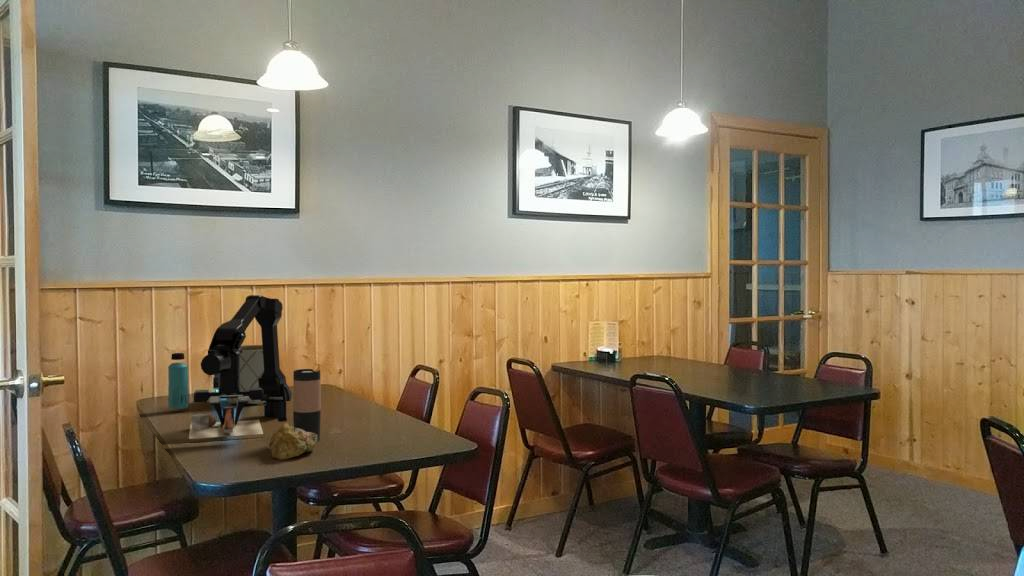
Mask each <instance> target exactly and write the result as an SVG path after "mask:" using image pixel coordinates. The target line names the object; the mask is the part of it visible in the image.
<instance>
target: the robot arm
mask: <svg viewBox="0 0 1024 576" xmlns="http://www.w3.org/2000/svg"><path fill="white" fill-rule="evenodd" d="M282 316H283V303H282V302H281V301H280V299H278V298H270V297H266V296H263V295H260V294H259V295H257V294H253V295H252V294H251V295H247V296H246V298H245V301H244V302H243V304H242V305H241V306H240V308H239V309H238V310H237V311H236V312H235V314H234V315H233V317H232V318H231V319H230V320H228V321H226V322H223V323H222V324H220V325H219V326H218V327H217V328H216V330H215V332H214V333H213V336H212V339H211V342H210V345H209V347H208V350H207V355H205V356H204V357H203V358H202V360H201V361H200V369H201V370H202V372H203V373H204V374H206V375H208V376H213V377H212V380H213V381H212V384H213V387H212V389H214V390H215V389H217V391H215V392H213V391H212V392H210V389H196V390H195V391H194V392H193V404H194V403H196V404H197V403H201V404H202V403H207V401H209V402H208V403H209V405H210V406H213V407H214V410H215V411H216V413H217V416H218V419H219V422H221V425H222V426H223V408H222V402H221V400H222V399H226V398H238V399H237V404H236V407H235V408H236V409H235V413H234V421H235V425H236V424H237V422H238V421H239V420H240V419H239V418H240V415H241V413H242V410H243V408H244V406H245V404H246V403H249V401H248V399H249V397H250V398H251V399H252V400H261V401H266V402H265V404H263V417H264V418H276V420H277V421H288V418H287V402H291V400H292V398H293V393H292V391H291V389H290V387H289V385H288V383H287V379H286V378H287V377H286V375H285V374H284V372H283V371H282V369H281V368H280V367H281V366H280V353H279V351H280V350H279V335H278V324H279V322H280V321H281V319H282ZM254 319H255V321H256V322H257V323H258V325H259V326H260V331H261V343H262V344H261V345H262V348H263V363H264V372H263V374H262V376H261V377H260V378H259V380H258V382H259V388H249V391H240V354H241V353H243V351H242V350H241V349H240V346H242V345H243V343H244V341H245V339H246V337H247V335H246V330H247V328H248V327H249V326H250V324H251V323H252V321H253V320H254ZM215 375H218V376H215ZM246 405H247V404H246Z"/></svg>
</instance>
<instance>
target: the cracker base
mask: <svg viewBox="0 0 1024 576" xmlns="http://www.w3.org/2000/svg"><path fill="white" fill-rule="evenodd" d="M209 415H210V414H203V413H197V414H191V423H190V426H189V433H188V435H189V436H188V439H189V440H196V439H210V438H224V437H239V436H240V437H241V436H254V435H264V432H263V428H262V425H261V421H260V419H251V420H250V419H248V420H238V422H237V424H236V425H235V420H234V429H233V432H232V433H224V429H223V426H222V425H221V422H220V421H219V422H218V421H216V424H215V425H214V426H212V427H209ZM251 439H252V440H253V439H264V436H261V437H248V438H246V437H245V438H243V440H251ZM237 440H240V441H241V440H242V438H233V439H232V438H231V439H217V440H216V439H215V440H202V441H188V444H195V443H209V442H211V443H212V442H224V441H225V442H226V441H237Z"/></svg>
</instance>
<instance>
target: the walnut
mask: <svg viewBox="0 0 1024 576" xmlns="http://www.w3.org/2000/svg"><path fill="white" fill-rule="evenodd" d="M208 415H209V427H212V426H214V425H215V424H216V422H217V418H216V416H215V415H213V414H208Z"/></svg>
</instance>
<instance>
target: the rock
mask: <svg viewBox="0 0 1024 576" xmlns="http://www.w3.org/2000/svg"><path fill="white" fill-rule="evenodd" d="M317 438H318V436H317V434H315V433H312V432H306V431H304V430H303V429H299V428H294V425H291V426H290V424H289V422H285V423H283V424H281V425H280V427H279V428H278V429H276V430H275V431H274V432H273V433H272V435H271V436H270V438H269V443H268V446H267V448H268V450H271V456H272V458H273V459H277V460H279V461H280V460H281V461H282V460H283V461H284V460H288V459H291V458H295V457H299V456H300V455H302V454H304V453H312V452H313V451H314V450H315V446H316V444H317V442H318V441H317Z"/></svg>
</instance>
